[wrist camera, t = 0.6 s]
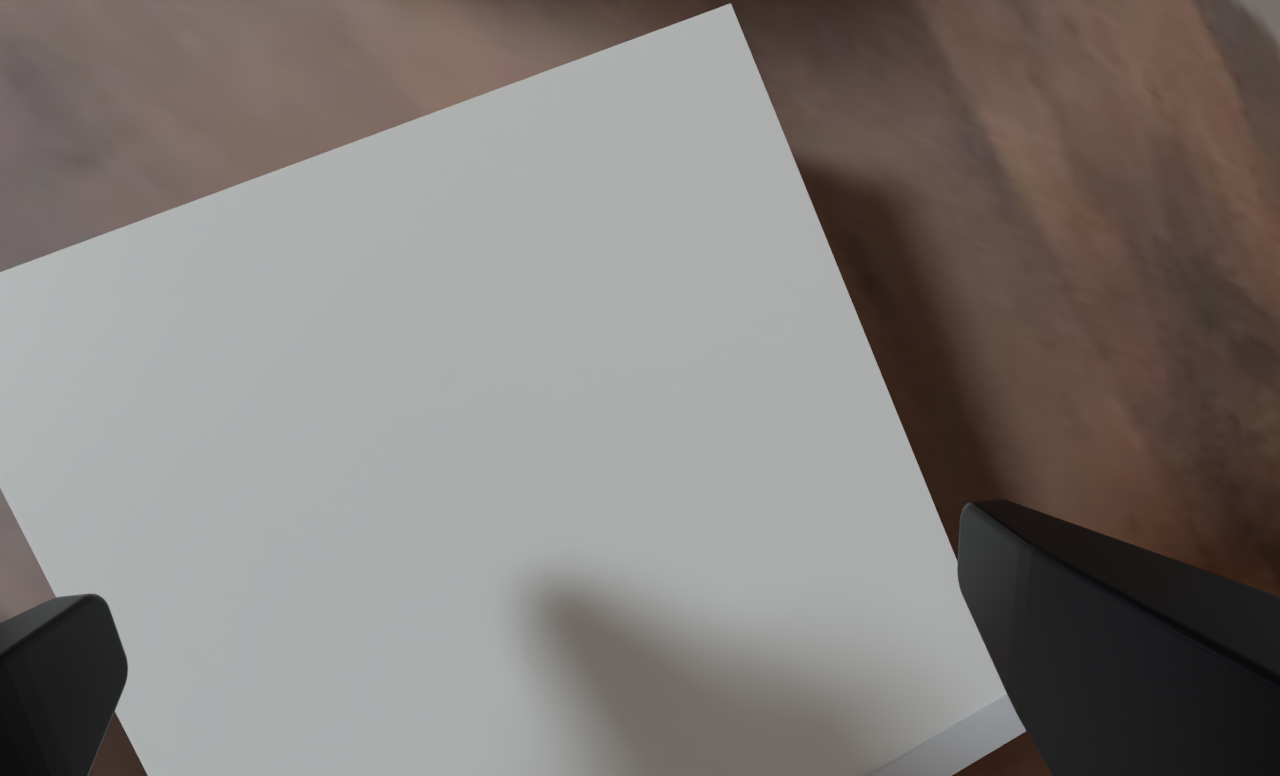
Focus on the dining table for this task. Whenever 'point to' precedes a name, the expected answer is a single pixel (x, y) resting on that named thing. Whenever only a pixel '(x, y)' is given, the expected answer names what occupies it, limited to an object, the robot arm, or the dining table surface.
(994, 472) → the dining table surface
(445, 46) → the dining table surface
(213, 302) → the white box
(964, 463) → the dining table surface
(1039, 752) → the robot arm
